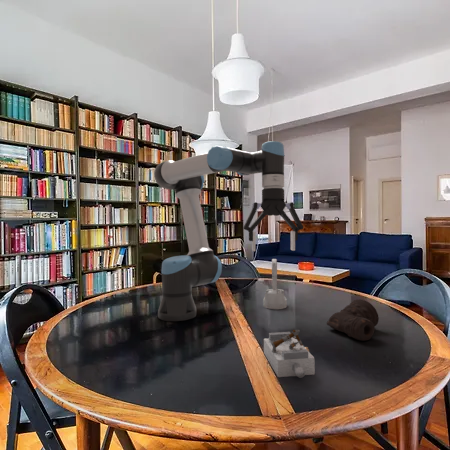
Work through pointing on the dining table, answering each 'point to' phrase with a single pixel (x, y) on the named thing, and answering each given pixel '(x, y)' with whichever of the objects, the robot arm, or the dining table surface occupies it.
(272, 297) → the engine component
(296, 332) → the wooden post with brackets
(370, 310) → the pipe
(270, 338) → the machine vise
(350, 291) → the dining table surface
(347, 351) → the dining table surface
